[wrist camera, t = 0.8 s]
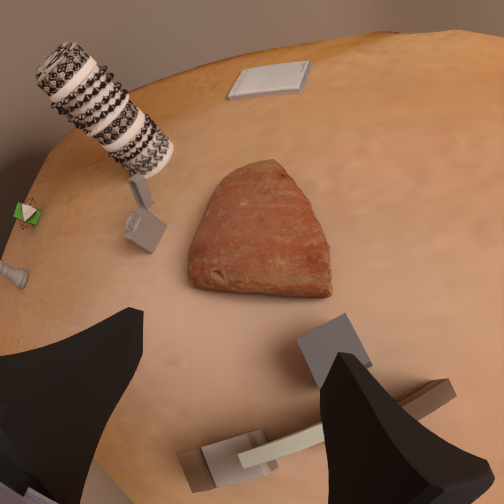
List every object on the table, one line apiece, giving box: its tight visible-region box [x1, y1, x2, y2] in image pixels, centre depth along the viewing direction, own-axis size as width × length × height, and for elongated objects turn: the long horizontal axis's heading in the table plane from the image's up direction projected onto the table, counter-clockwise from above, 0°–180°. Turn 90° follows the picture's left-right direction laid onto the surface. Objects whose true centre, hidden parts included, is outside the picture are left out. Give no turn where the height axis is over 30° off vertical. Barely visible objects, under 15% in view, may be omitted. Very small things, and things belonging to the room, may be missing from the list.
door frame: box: [177, 378, 457, 493], centre depth 20 cm, size 4×22×6 cm, turn 112°
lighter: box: [123, 174, 167, 254], centre depth 36 cm, size 7×2×8 cm, turn 153°
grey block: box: [296, 313, 372, 388], centre depth 22 cm, size 4×4×5 cm
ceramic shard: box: [188, 159, 333, 298], centre depth 31 cm, size 15×6×15 cm
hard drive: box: [228, 61, 312, 101], centre depth 44 cm, size 2×8×12 cm
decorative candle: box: [36, 42, 174, 180], centre depth 37 cm, size 9×9×25 cm
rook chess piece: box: [0, 260, 28, 289], centre depth 49 cm, size 4×4×8 cm
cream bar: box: [238, 421, 325, 469], centre depth 20 cm, size 2×10×6 cm, turn 112°
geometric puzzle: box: [13, 197, 42, 230], centre depth 58 cm, size 7×7×8 cm
